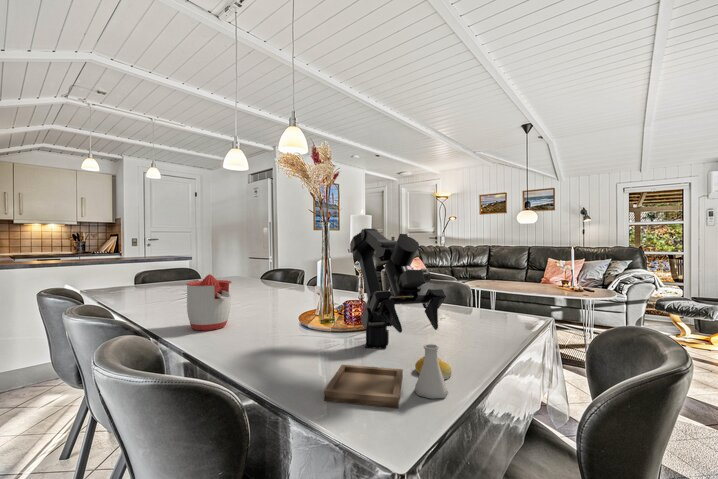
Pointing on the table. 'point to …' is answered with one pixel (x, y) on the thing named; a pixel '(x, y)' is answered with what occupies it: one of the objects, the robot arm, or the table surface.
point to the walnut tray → (365, 386)
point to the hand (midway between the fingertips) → (419, 330)
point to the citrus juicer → (208, 303)
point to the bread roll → (444, 366)
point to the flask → (431, 375)
